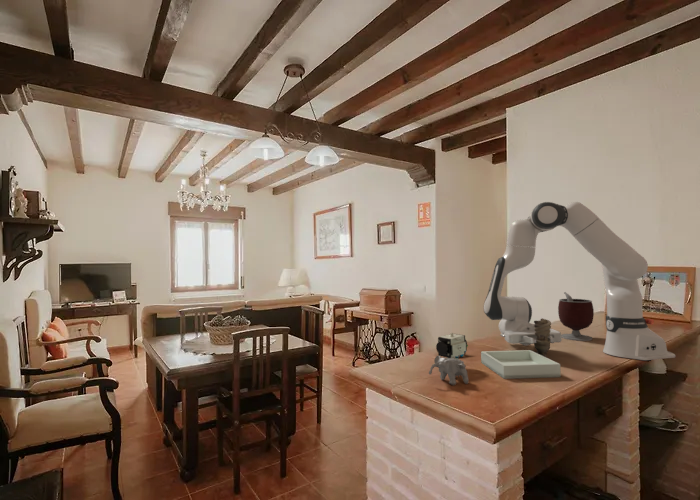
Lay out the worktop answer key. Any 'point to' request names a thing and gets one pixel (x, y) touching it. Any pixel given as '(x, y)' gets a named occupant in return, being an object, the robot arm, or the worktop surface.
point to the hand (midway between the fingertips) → (543, 341)
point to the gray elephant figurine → (450, 369)
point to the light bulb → (542, 336)
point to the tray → (520, 364)
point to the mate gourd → (575, 316)
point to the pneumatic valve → (451, 345)
